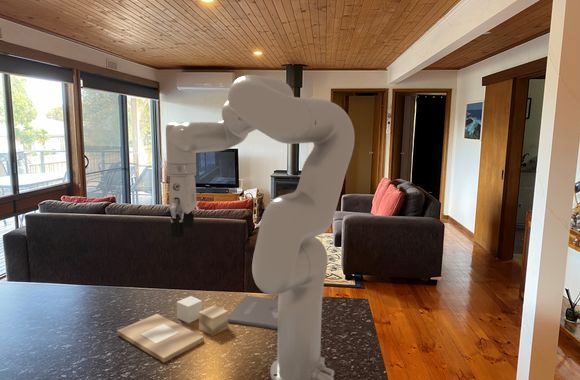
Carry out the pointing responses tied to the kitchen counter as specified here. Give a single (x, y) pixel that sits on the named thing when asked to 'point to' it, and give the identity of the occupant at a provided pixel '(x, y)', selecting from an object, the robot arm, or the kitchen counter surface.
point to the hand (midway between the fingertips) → (183, 231)
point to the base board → (160, 337)
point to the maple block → (213, 320)
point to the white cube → (189, 309)
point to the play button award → (256, 312)
